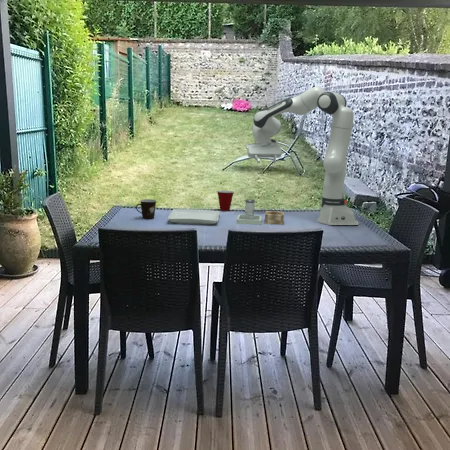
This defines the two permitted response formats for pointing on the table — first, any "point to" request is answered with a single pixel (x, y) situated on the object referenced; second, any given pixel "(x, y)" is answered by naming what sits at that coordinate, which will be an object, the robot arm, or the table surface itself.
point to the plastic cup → (225, 199)
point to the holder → (274, 217)
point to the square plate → (193, 216)
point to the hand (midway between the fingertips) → (266, 162)
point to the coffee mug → (147, 208)
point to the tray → (242, 220)
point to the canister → (249, 209)
